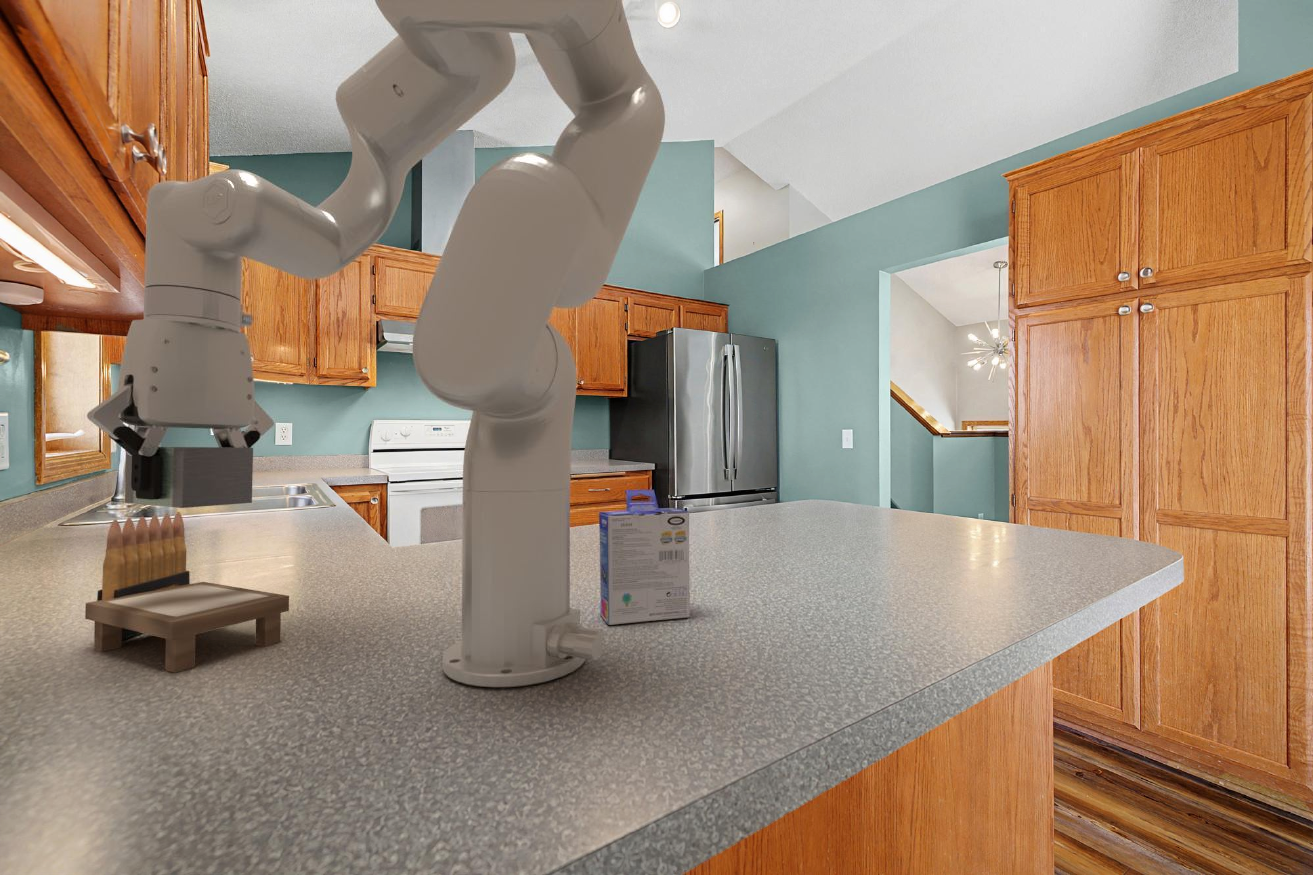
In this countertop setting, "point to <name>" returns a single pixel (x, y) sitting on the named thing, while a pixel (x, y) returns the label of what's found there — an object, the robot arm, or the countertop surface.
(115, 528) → the ammunition clip
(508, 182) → the robot arm
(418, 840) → the countertop surface
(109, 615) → the stand
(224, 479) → the block
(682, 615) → the ink cartridge box
